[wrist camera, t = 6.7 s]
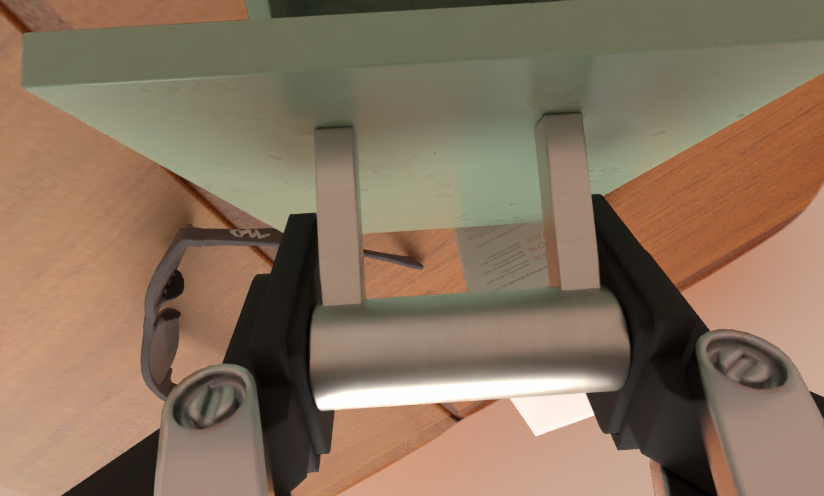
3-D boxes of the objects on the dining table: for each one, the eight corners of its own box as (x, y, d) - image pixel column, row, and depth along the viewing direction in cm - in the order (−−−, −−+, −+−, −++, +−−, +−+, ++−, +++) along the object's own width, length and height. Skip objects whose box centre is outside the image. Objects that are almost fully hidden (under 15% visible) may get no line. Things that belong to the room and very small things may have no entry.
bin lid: (20, 31, 6) (6, 471, 6) (882, -20, 6) (964, 405, 6) (291, 220, 21) (295, 351, 20) (556, 203, 21) (570, 333, 20)
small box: (487, 280, 34) (533, 441, 24) (448, 214, 31) (481, 365, 20) (595, 231, 32) (699, 383, 22) (565, 156, 29) (670, 289, 18)
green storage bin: (267, -149, 21) (202, -191, 13) (533, -163, 21) (612, -213, 13) (317, 147, 28) (293, 223, 21) (511, 135, 28) (554, 207, 21)
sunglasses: (171, 177, 29) (147, 221, 25) (425, 234, 34) (439, 278, 30) (154, 359, 37) (133, 415, 33) (360, 382, 42) (364, 432, 38)
